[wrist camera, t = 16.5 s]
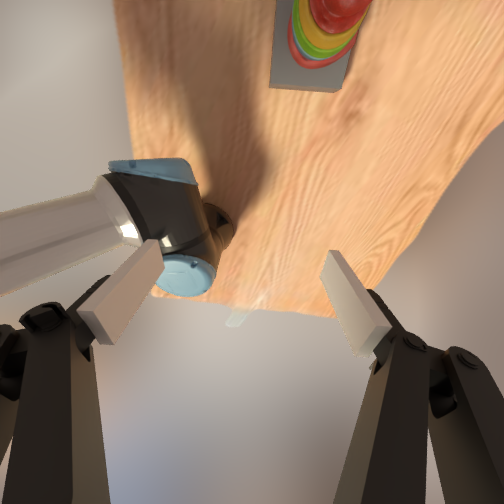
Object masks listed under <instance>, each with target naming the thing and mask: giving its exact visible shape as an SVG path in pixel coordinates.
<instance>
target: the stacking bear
mask: <svg viewBox="0 0 504 504" xmlns="http://www.w3.org/2000/svg"><path fill="white" fill-rule="evenodd" d="M371 1H372V0H294V2H293V8H292V12H291V15H290V19H289V23H288V31H287V38H288V46H289V49H290V53H291V55H292V57H293V59H294V60H295V61H296V62H297V63H298V64H299V65H300V66H301V67H304V68H306V69H318V68H322V67H325V66H328V65H330V64H332V63H334V62H336V61H337V60H339V59H340V58H341V57H343V56H344V55H345V54H346V53H347V52H348V51H349V50H350V49H351V48H352V47H353V46H354V44H355V42H356V37H357V35H358V31H359V29H358V28H359V27H360V25H361V23H362V21H363V19H364V17H365V15H366V13H367V11H368V9H369V6H370V4H371Z"/></svg>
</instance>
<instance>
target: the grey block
mask: <svg viewBox="0 0 504 504" xmlns="http://www.w3.org/2000/svg"><path fill="white" fill-rule="evenodd" d="M293 2H294V0H276V10H275V22H274V34H273V46H272V58H271V70H270V82H269V88H276V89H289V90H302V91H315V92H328V93H334V92H336V91H338V90H340V89H341V88H342V84H343V80H344V76H345V72H346V68H347V64H348V60H349V56H350V52H351V49H350V50H349V51H348V52H347V53H346V54H345V55H344V56H343V57H341V58H340V59H339V60H337V61H336V62H334V63H332V64H330V65H328V66H325V67H322V68H318V69H306V68H304V67H301V66H300V65H299V64H298V63H297V62H296V61H295V60H294V59H293V57H292V55H291V53H290V49H289V46H288V38H287V31H288V23H289V19H290V15H291V12H292V8H293Z"/></svg>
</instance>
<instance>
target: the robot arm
mask: <svg viewBox="0 0 504 504" xmlns="http://www.w3.org/2000/svg"><path fill="white" fill-rule="evenodd" d="M108 165H109V168H108V169H109V171H111V172H112V173H109V174H104V175H99V176H97V178H96V180H95V182H94V185H93V187H92V189H91V190H89V191H85V192H81V193H77V194H73V195H69V196H65V197H61V198H57V199H53V200H48V201H44V202H40V203H36V204H32V205H28V206H24V207H21V208H17V209H12V210H8V211H4V212H0V297H2V296H5V295H7V294H9V293H12V292H14V291H17V290H19V289H21V288H23V287H26V286H28V285H31V284H33V283H35V282H38V281H40V280H42V279H45V278H47V277H50V276H52V275H54V274H57V273H59V272H61V271H64V270H66V269H69V268H71V267H73V266H76V265H78V264H80V263H83V262H85V261H87V260H90V259H92V258H95V257H97V256H99V255H102V254H104V253H106V252H109V251H111V250H113V249H116V248H118V247H120V246H123V245H130V246H134V247H137V248H138V250H136V251H135V252H134V253H133V254H132V255H131V256H130V257H129V258H128V259H127V260H126V261H125V262H124V263H123V264H122V265H121V266H120V267H119V268H118V269H117V270H116V271H115V272H114V273H113V274H112V275H106V276H105V277H103V278H101V279H100V280H98V281H97V282H96V283H95V284H94V285H92V286H91V288H89V289H88V290H87V291H86V293H84V294H83V295H82V296H81V297H80V298H79V299H78V300H77V301H75V302H74V303H73V304H72V305H71V306H70V307H69V308H68V309H67V310H66V311H65V309H64V308H63V307H62V306H61V304H60V303H58V302H48V303H44V304H41V305H38V306H36V307H34V308H32V309H30V310H29V311H27V312H26V313H25V314H24V315H22V316H21V318H20V320H19V322H20V323H21V324H22V325H23V326H24V327H25V328H26V329H20V330H15V329H14V328H12V326H11V325H6V324H3V325H0V465H1V462H2V460H3V458H4V455H5V453H6V451H7V448H8V446H9V443H10V441H11V439H12V437H13V439H12V445H11V452H10V458H9V463H8V469H7V475H6V481H5V487H4V493H3V499H2V504H111V503H110V496H109V486H108V478H107V469H106V460H105V451H104V443H103V435H102V425H101V417H100V407H99V399H98V390H97V382H96V372H95V364H94V356H93V348H92V346H91V343H92V341H93V340H94V339H95V338H96V339H97V341H98V342H99V344H106V345H114V344H115V343H116V341H117V340H118V338H119V337H120V335H121V334H122V332H123V331H124V329H125V328H126V326H127V325H128V323H129V321H130V320H131V319H132V317H133V316H134V314H135V313H136V311H137V310H138V308H139V307H140V305H141V304H142V302H143V301H144V299H145V297H146V296H147V295H148V293H149V292H150V290H151V289H152V287H153V286H154V284H156V285H157V286H158V287H159V288H161V289H162V290H164V291H166V292H168V293H171V294H174V295H177V296H182V297H193V296H198V295H201V294H203V293H205V292H206V291H207V290H208V289H209V288H210V287H211V286H212V284H213V281H214V279H215V277H216V272H217V268H218V264H219V261H220V257H221V253H222V251H223V250H225V249H226V248H227V247H228V246H229V244H230V242H231V240H232V236H233V225H232V222H231V220H230V218H229V216H228V215H227V214H226V213H225V212H224V211H223V210H222V209H220V208H218V207H216V206H214V205H211V204H203V203H202V200H201V196H200V193H199V189H198V183H197V182H196V180H195V177H194V174H193V171H192V168H191V166H190V164H189V163H188V162H187V161H186V160H184V159H182V158H158V159H139V160H119V161H110V162H109V163H108ZM320 279H321V281H322V284H323V286H324V288H325V290H326V293H327V295H328V297H329V299H330V302H331V304H332V306H333V308H334V311H335V313H336V315H337V318H338V320H339V322H340V324H341V326H342V329H343V331H344V333H345V336H346V338H347V340H348V342H349V345H350V347H351V349H352V351H353V354H354V356H355V357H369V356H370V355H371V353H372V352H374V354H375V355H376V357H377V358H376V360H375V361H374V362H373V363H372V364H371V366H370V367H369V369H370V370H371V369H372V371H371V375H370V378H369V381H368V385H367V388H366V392H365V395H364V399H363V402H362V405H361V409H360V412H359V416H358V419H357V423H356V426H355V430H354V433H353V437H352V440H351V443H350V447H349V450H348V454H347V457H346V461H345V464H344V467H343V471H342V474H341V478H340V481H339V485H338V488H337V492H336V495H335V499H334V502H333V504H425V496H426V465H427V435H428V434H427V433H428V429H429V433H430V437H431V442H432V447H433V451H434V455H435V460H436V464H437V469H438V473H439V478H440V482H441V487H442V491H443V495H444V500H445V504H504V398H503V396H502V394H501V392H500V391H499V388H498V387H497V385H496V383H495V381H494V379H493V378H492V376H491V374H490V372H489V370H488V368H487V367H486V366H485V364H484V363H483V362H482V361H481V360H480V359H479V358H478V357H477V356H475V355H474V354H472V353H471V352H469V351H467V350H465V349H463V348H460V347H456V346H453V347H450V348H449V349H448V350H446V351H443V350H440V349H437V348H434V347H431V346H428V345H427V344H426V343H425V342H424V341H423V340H422V339H421V338H420V337H418V336H416V335H415V334H413V333H410V332H407V331H406V330H405V329H404V328H403V327H402V325H401V324H400V323H399V321H398V320H397V319H396V317H395V316H394V315H393V313H392V312H391V311H390V310H389V309H388V307H387V305H386V304H384V301H383V300H382V299H381V297H380V296H379V295H378V294H377V293H375V292H374V291H373V290H372V289H365V287H364V286H363V284H362V283H361V282H360V280H359V279H358V277H357V276H356V274H355V273H354V272H353V270H352V269H351V267H350V266H349V264H348V263H347V262H346V260H345V259H344V257H343V256H342V254H341V253H340V252H339V251H337V250H329V251H328V254H327V257H326V260H325V263H324V266H323V269H322V272H321V275H320Z"/></svg>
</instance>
